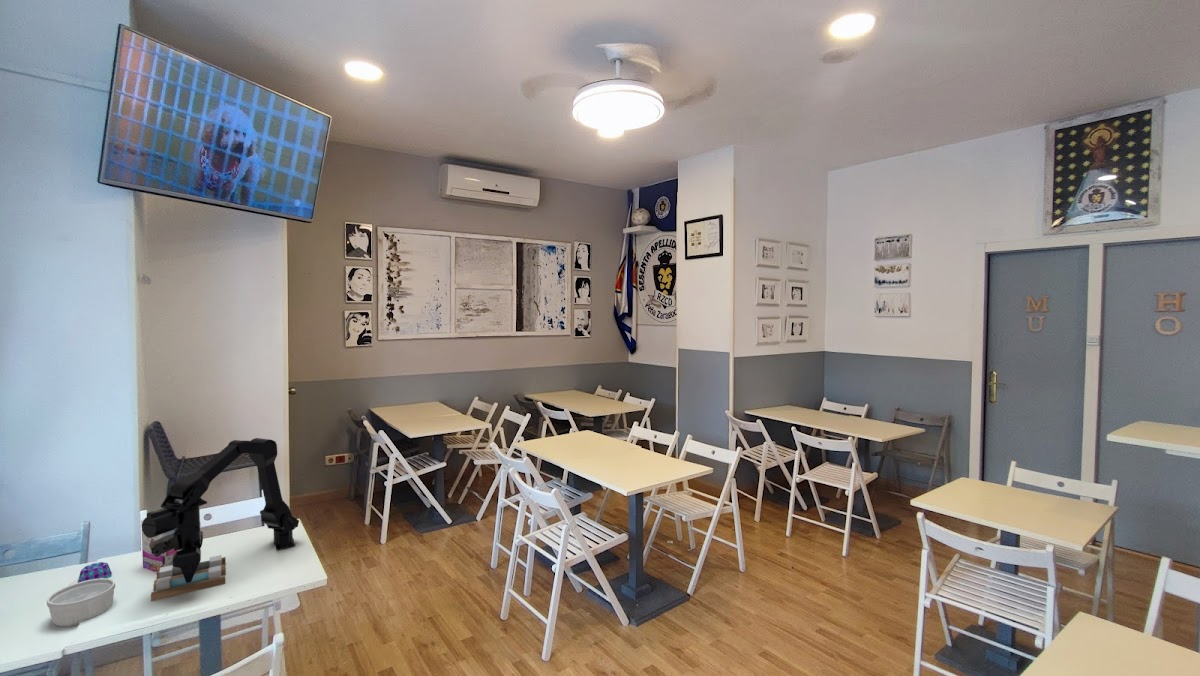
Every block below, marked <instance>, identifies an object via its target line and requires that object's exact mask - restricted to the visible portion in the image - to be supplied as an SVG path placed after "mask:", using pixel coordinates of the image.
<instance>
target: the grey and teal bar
mask: <svg viewBox="0 0 1200 676" xmlns="http://www.w3.org/2000/svg"><path fill="white" fill-rule="evenodd" d="M218 577H221V565H220V566H215V567H211V568H209V571H208V572H203V573H199V574H194V576H193V578H192V581H191V582H189V583H186V581H185V578H184V577H181V578H176V579H172V580H171V576H169V577H165V578H160V579H157V578H156V580H157V582H156V591H160V590H165V589H169V588H173V587H178V586H182V585H187V584H191V583H195V582H200V581H204V580H209V579H213V578H218Z"/></svg>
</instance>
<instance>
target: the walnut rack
mask: <svg viewBox="0 0 1200 676" xmlns="http://www.w3.org/2000/svg"><path fill="white" fill-rule="evenodd" d="M226 558H227V557H224V556H222V566H221V577H218V578H213V579H209V580H204V581H200V582H195V583H191V584H187V585H182V586H178V587H173V588H169V589H165V590H160V591H156V582H157V579H159V571H157V572H156V579H155V580H154V581H153V585H152V586H153V591H152V592H150V602H154V601H159V600H162V599H167V598H170V597H174V596H179V595H183V594H187V593H193V592H197V591H201V590H205V589H209V588H213V587H217V586H222V585H225V584H226V576H227V575H226V570H227V569H226V568H227V564H226ZM205 561H206V560H205ZM205 561H203V562H205ZM201 562H202V561H200V562H199V563H201ZM176 568H177V567H176ZM208 571H209V569H204V570H200V571H195V574H199V573H203V572H208ZM181 577H184V575H183V574H181V575H177V576H172V577H171V580H172V579H176V578H181Z"/></svg>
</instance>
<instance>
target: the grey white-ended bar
mask: <svg viewBox="0 0 1200 676" xmlns="http://www.w3.org/2000/svg"><path fill="white" fill-rule="evenodd" d="M222 558H223V556H222V555H221V554H219V555H215V556H209V560H205V562H204V561H200V562H201V563H199V565H198V567H197V569H196V571H200V570H204V569H209V568H211V567H215V566H220V565H221V566H222ZM181 574H183V573H182V570H181V569H180V568H178V567H177V568H173V565H171V566H166V567H161V568H160V571H159V579H160V578H165V577H169V576H171V577H172V576H177V575H181Z"/></svg>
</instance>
